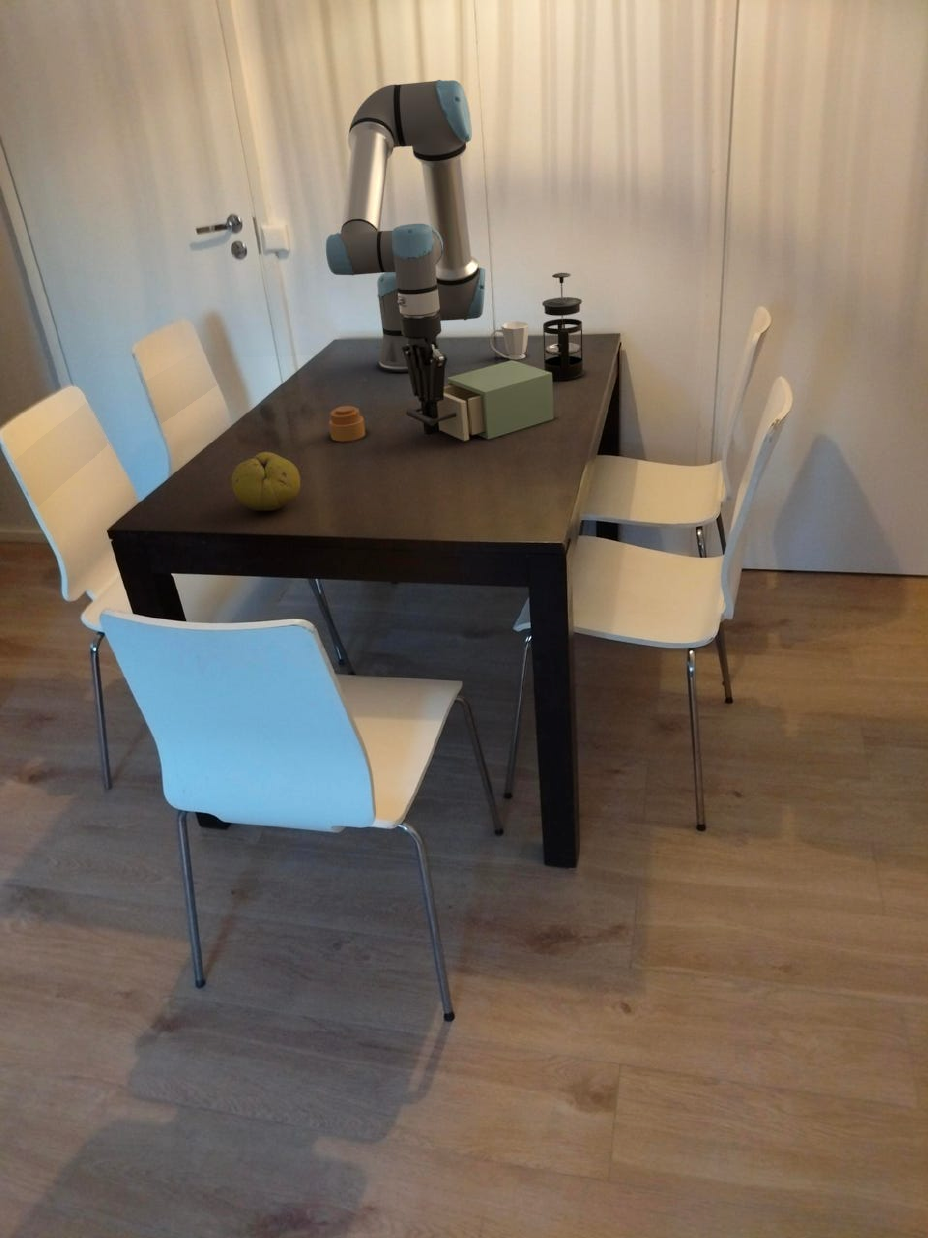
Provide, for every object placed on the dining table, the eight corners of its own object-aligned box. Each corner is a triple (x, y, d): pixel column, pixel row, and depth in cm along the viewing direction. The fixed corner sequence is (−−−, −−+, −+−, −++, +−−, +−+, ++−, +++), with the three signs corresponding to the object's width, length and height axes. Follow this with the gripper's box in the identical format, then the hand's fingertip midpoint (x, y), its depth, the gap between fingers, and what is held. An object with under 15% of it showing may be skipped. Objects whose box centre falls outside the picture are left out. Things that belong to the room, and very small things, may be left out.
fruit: (247, 497, 172) (236, 446, 167) (310, 494, 171) (300, 442, 166) (232, 524, 162) (220, 470, 157) (299, 520, 162) (288, 466, 156)
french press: (542, 369, 226) (539, 270, 214) (581, 366, 225) (580, 267, 213) (545, 384, 216) (542, 281, 204) (586, 381, 215) (585, 277, 203)
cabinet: (488, 439, 188) (484, 392, 183) (450, 423, 198) (446, 377, 193) (553, 418, 195) (552, 372, 190) (514, 404, 206) (512, 359, 200)
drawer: (436, 449, 183) (432, 410, 179) (404, 433, 192) (399, 396, 188) (526, 421, 192) (525, 383, 188) (491, 407, 202) (489, 371, 198)
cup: (529, 360, 233) (527, 327, 229) (489, 361, 235) (487, 329, 231) (531, 352, 239) (530, 320, 235) (493, 354, 241) (491, 322, 237)
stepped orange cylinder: (329, 432, 199) (325, 406, 196) (362, 427, 200) (358, 401, 197) (333, 443, 193) (329, 416, 190) (367, 438, 194) (363, 411, 191)
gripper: (385, 312, 179) (399, 429, 191) (421, 322, 169) (433, 446, 182) (418, 304, 182) (430, 420, 194) (455, 314, 173) (465, 436, 185)
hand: (431, 432), depth 188 cm, fingers closed
